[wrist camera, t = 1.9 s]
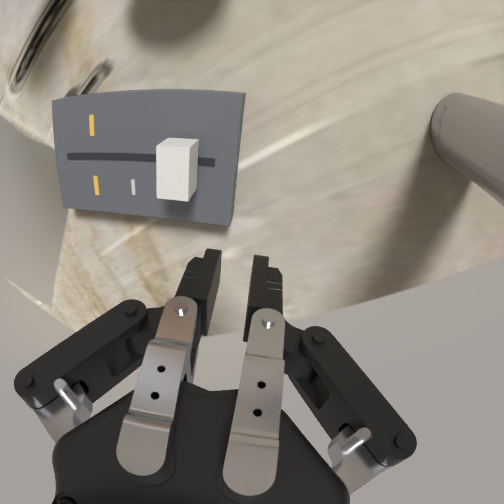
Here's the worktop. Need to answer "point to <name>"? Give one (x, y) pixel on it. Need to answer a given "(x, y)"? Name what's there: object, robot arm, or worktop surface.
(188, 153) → the fader knob
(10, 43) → the worktop surface
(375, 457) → the robot arm
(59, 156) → the panel
